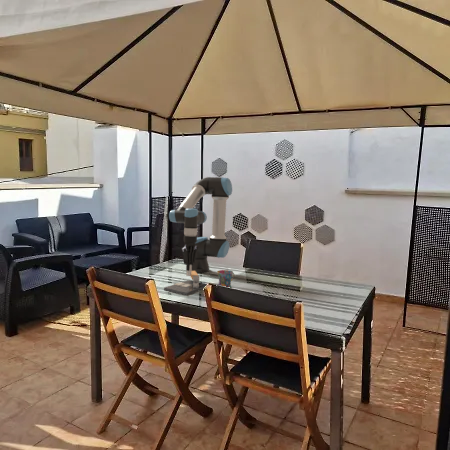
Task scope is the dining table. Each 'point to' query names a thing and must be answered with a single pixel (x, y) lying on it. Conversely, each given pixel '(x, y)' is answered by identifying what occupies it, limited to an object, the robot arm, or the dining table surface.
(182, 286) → the server panel
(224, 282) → the mug
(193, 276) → the cable arm
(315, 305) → the dining table surface
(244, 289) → the dining table surface
